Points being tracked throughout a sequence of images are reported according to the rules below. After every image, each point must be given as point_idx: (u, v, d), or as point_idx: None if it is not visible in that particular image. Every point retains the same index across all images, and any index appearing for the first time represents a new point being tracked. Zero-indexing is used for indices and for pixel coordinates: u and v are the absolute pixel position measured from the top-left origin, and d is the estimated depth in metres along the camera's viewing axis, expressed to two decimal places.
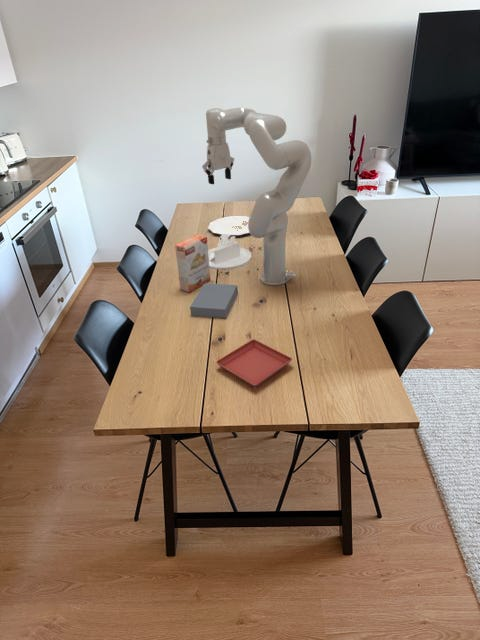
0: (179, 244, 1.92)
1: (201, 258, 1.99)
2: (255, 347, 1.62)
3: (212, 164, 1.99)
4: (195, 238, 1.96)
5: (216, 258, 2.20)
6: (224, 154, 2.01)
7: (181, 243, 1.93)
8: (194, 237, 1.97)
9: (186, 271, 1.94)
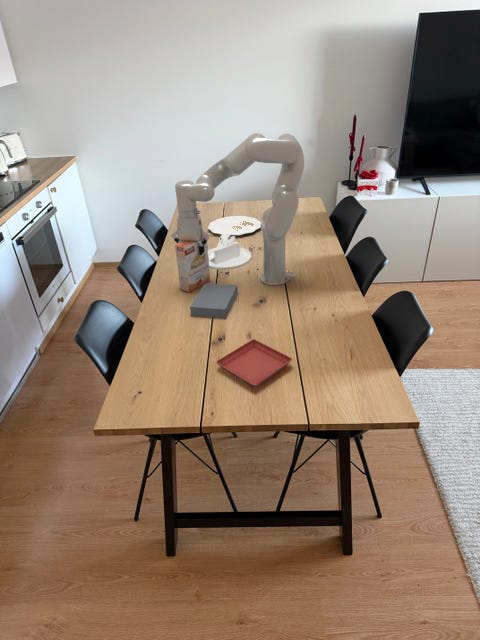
0: (179, 244, 1.92)
1: (201, 258, 1.99)
2: (255, 347, 1.62)
3: None
4: None
5: (216, 258, 2.20)
6: None
7: (181, 242, 1.93)
8: None
9: (186, 270, 1.94)
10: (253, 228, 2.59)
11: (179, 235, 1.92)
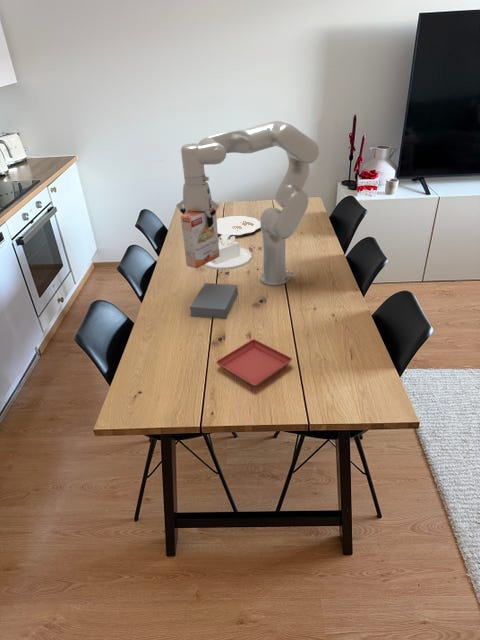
0: (185, 215, 1.75)
1: (210, 231, 1.82)
2: (255, 347, 1.62)
3: None
4: None
5: (216, 258, 2.20)
6: None
7: (187, 213, 1.76)
8: None
9: (193, 244, 1.77)
10: (253, 228, 2.59)
11: (185, 205, 1.75)
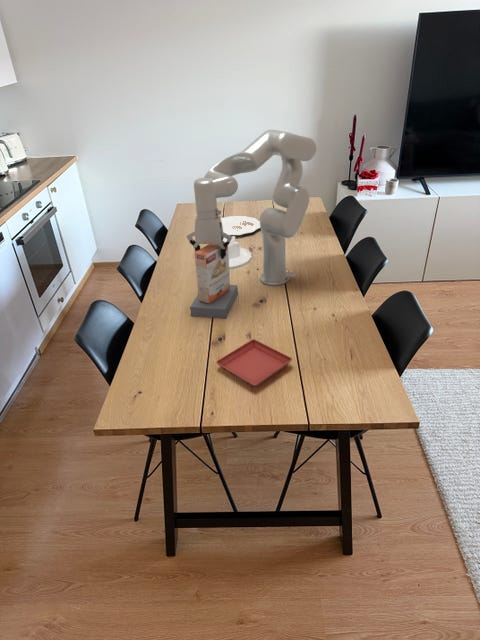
0: (199, 251, 1.74)
1: (222, 266, 1.82)
2: (255, 347, 1.62)
3: None
4: (215, 244, 1.79)
5: None
6: None
7: (201, 250, 1.75)
8: None
9: (207, 280, 1.77)
10: (253, 228, 2.59)
11: (197, 238, 1.74)
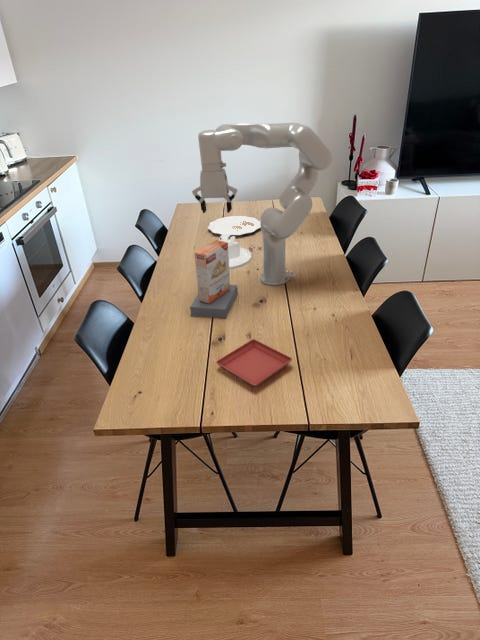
0: (199, 251, 1.74)
1: (222, 266, 1.82)
2: (255, 347, 1.62)
3: None
4: (215, 244, 1.79)
5: None
6: None
7: (201, 250, 1.75)
8: (214, 243, 1.80)
9: (207, 280, 1.77)
10: (253, 228, 2.59)
11: (203, 192, 1.76)
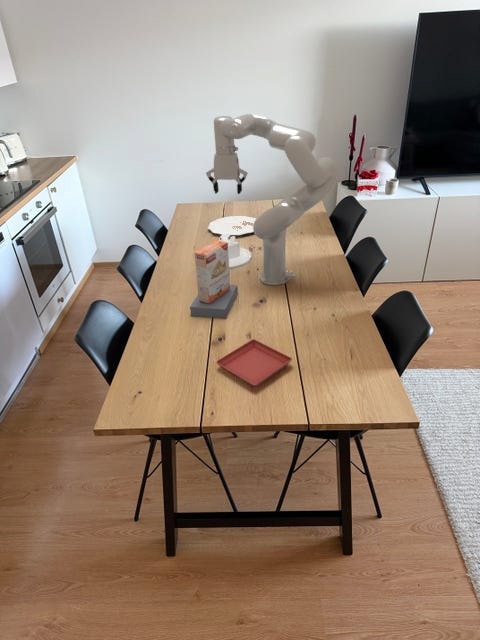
0: (199, 251, 1.74)
1: (222, 266, 1.82)
2: (255, 347, 1.62)
3: None
4: (215, 244, 1.79)
5: None
6: None
7: (201, 250, 1.75)
8: (214, 243, 1.80)
9: (207, 280, 1.77)
10: None
11: (216, 174, 1.91)
